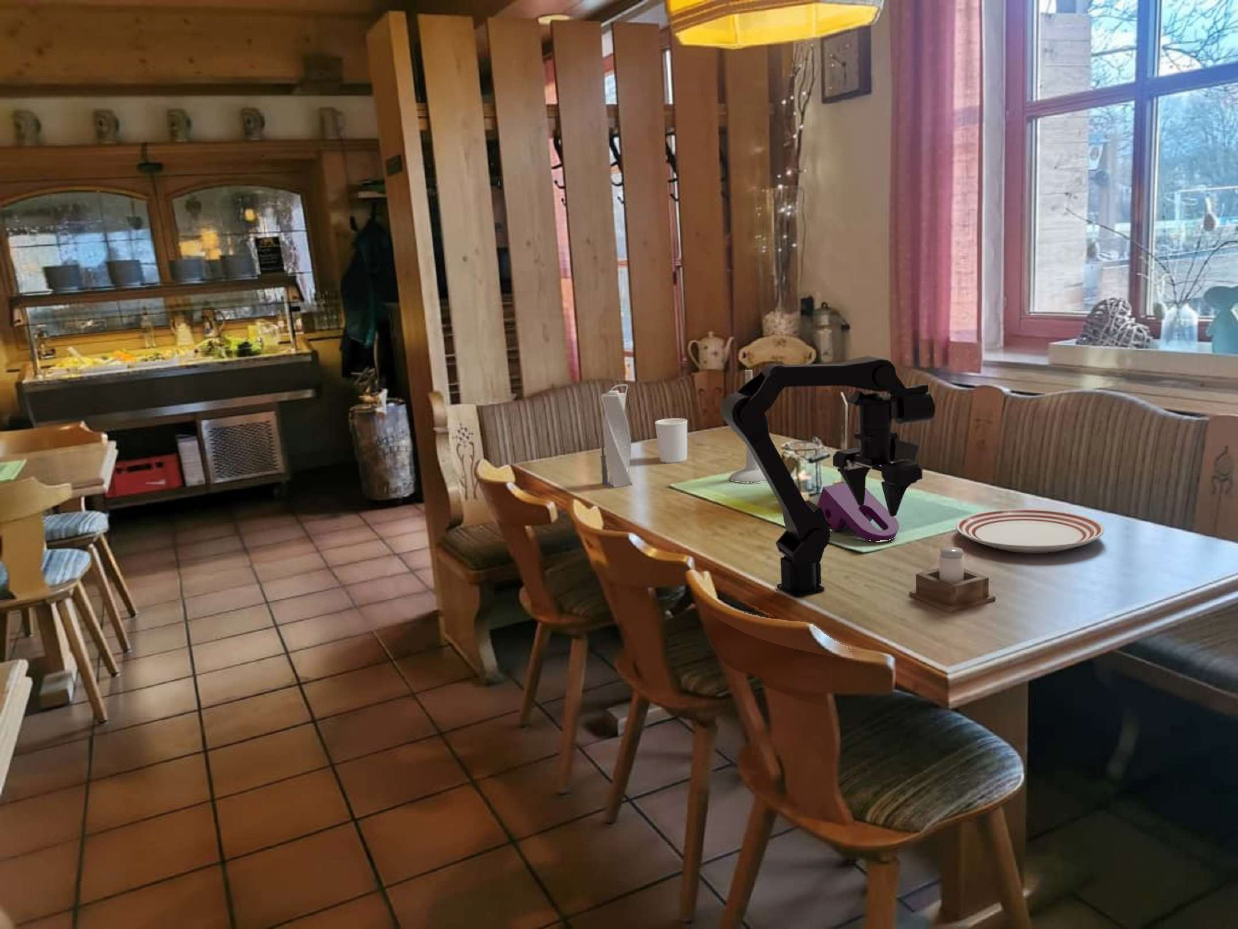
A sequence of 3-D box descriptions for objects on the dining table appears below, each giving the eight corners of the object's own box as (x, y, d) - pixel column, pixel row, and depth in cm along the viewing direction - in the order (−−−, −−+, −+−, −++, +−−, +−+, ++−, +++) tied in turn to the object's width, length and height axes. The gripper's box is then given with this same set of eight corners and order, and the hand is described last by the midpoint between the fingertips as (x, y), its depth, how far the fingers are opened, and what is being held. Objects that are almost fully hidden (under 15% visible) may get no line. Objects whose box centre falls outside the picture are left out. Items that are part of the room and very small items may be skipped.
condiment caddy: (949, 612, 157) (949, 590, 156) (909, 594, 166) (909, 573, 165) (995, 600, 161) (995, 578, 160) (953, 583, 170) (953, 562, 169)
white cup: (690, 462, 281) (688, 422, 278) (657, 464, 281) (655, 425, 279) (688, 455, 291) (686, 417, 288) (657, 457, 291) (654, 419, 288)
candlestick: (787, 476, 255) (782, 366, 248) (751, 486, 248) (746, 373, 242) (755, 470, 265) (750, 364, 259) (720, 478, 259) (714, 370, 252)
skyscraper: (629, 480, 266) (622, 382, 260) (639, 486, 259) (631, 385, 253) (601, 484, 264) (593, 385, 258) (610, 490, 256) (602, 388, 250)
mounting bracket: (896, 560, 201) (848, 509, 214) (907, 530, 196) (858, 479, 209) (860, 569, 198) (813, 516, 211) (871, 539, 193) (822, 486, 206)
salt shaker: (950, 599, 161) (950, 555, 159) (934, 593, 164) (934, 549, 163) (968, 595, 162) (969, 550, 161) (952, 588, 166) (952, 545, 164)
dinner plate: (927, 536, 198) (927, 521, 197) (1025, 513, 208) (1025, 498, 207) (1030, 572, 173) (1030, 555, 172) (1136, 544, 183) (1137, 527, 182)
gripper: (947, 427, 164) (947, 514, 167) (878, 414, 181) (879, 493, 184) (895, 437, 160) (896, 525, 163) (830, 422, 177) (832, 502, 180)
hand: (876, 510), depth 173 cm, fingers open, 9 cm apart
